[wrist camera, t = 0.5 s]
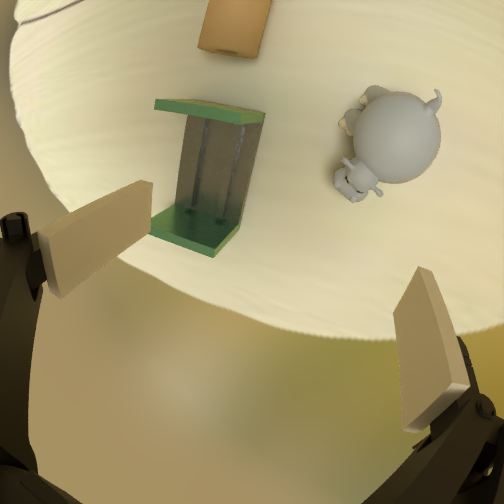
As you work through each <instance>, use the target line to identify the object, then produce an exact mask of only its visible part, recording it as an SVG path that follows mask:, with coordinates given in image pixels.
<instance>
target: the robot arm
mask: <svg viewBox="0 0 504 504" xmlns="http://www.w3.org/2000/svg"><path fill="white" fill-rule="evenodd" d="M152 188H153V183H151V182H147V181H143V180H139V181H137V182H135V183H133V184H130V185H128V186H126V187H123V188H121V189H119V190H117V191H115V192H112V193H110V194H108V195H106V196H104V197H102V198H100V199H98V200H95V201H93V202H91V203H89V204H87V205H85V206H83V207H81V208H79V209H77V210H75V211H73V212H71V213H70V214H68V215H66V216H64V217H62V218H60V219H58V220H56V221H54V222H53V223H51V224H49V225H47V226H45V227H44V228H42V229H40V230H38V231H37V232H36V233H33V234H32V235H31V233H30V227H29V221H28V215H27V214H26V213H24V212H14V213H10V214H8V215H6V216H4V217H3V218H1V219H0V227H1V232H2V237H3V238H0V504H82V503H80V502H79V501H78V500H76V499H75V498H73V497H72V496H71V495H69V494H68V493H67V492H65V491H63V490H62V489H60V488H58V487H57V486H55V485H53V484H52V483H50V482H49V481H47V480H45V479H44V478H42V477H41V476H39V475H38V468H37V462H36V458H35V454H34V452H33V449H32V447H31V445H30V442H29V437H28V401H29V381H30V369H31V360H32V351H33V344H34V337H35V330H36V324H37V319H38V313H39V308H40V303H41V299H42V294H43V287H42V283H43V282H45V281H46V280H47V282H48V286H49V290H50V292H51V293H52V294H54V295H55V296H57V297H59V298H60V299H62V298H64V297H65V296H66V295H67V294H68V293H70V292H71V291H72V290H74V289H75V288H76V287H77V286H79V285H80V284H81V283H82V282H83V281H85V280H86V279H87V278H89V277H90V276H91V275H93V274H94V273H95V272H96V271H98V270H99V269H100V268H102V267H103V266H104V265H106V264H107V263H108V262H110V261H111V260H112V259H114V258H115V257H116V256H118V255H119V254H120V253H122V252H123V251H124V250H126V249H127V248H128V247H130V246H131V245H133V244H134V243H135V242H137V241H138V240H139V239H141V238H142V237H144V236H145V235H147V234H148V233H149V232H150V231H151V206H152ZM393 316H394V323H395V331H396V339H397V348H398V358H399V370H400V383H401V384H400V385H401V406H402V431H408V432H416V433H420V432H421V431H422V430H424V429H425V428H426V427H427V426H428V425H430V430H431V434H429V435H428V436H426V437H425V438H424V439H423V440H421V441H420V442H419V443H417V444H416V445H415V446H413V447H412V448H413V449H415V448H416V449H415V450H414V451H413V452H412V454H411V455H410V456H409V457H408V458H407V459H406V460H405V462H404V463H403V464H402V465H401V466H400V467H399V468H398V469H397V470H396V471H395V472H394V473H393V474H392V475H391V476H390V477H389V478H388V479H387V480H386V481H385V482H384V483H383V484H382V485H381V486H380V487H379V488H378V489H377V490H376V491H375V492H374V493H373V494H372V495H370V496H369V497H368V498H367V499H366V500H365V501H364V502H363V503H362V504H504V420H503V419H502V418H499V417H498V416H496V410H495V407H494V405H493V403H492V401H491V400H490V399H489V398H488V397H487V396H485V395H484V394H480V393H479V389H478V385H477V381H476V377H475V374H474V370H473V367H471V366H472V364H471V360H470V359H469V353H468V351H467V347H466V345H465V344H464V342H463V341H462V339H461V338H460V337H458V336H456V334H455V331H454V328H453V325H452V322H451V319H450V316H449V313H448V311H447V308H446V305H445V303H444V300H443V297H442V295H441V292H440V290H439V287H438V285H437V283H436V280H435V278H434V275H433V273H432V271H430V270H427V269H424V268H422V267H419V266H418V268H417V270H416V272H415V274H414V276H413V277H412V279H411V281H410V283H409V285H408V287H407V289H406V291H405V292H404V294H403V296H402V298H401V300H400V301H399V303H398V305H397V307H396V308H395V310H394V312H393ZM492 467H493V469H492V472H491V473H490V475H488V476H487V474H488V470H489V469H490V468H492Z"/></svg>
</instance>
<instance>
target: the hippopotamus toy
mask: <svg viewBox="0 0 504 504" xmlns="http://www.w3.org/2000/svg"><path fill="white" fill-rule="evenodd" d="M434 90H435V92H436V94H437V98H435V99H432V100H430V101H429V102H427V103H425V102H424V101H422V100H421V99H420V98H418V97H417V96H415V95H413V94H410V93H406V92H390V91H388V90H386V89H384V88H382V87H380V86H370V87H369V88H368V89H367V90H366V92H365V94H364V95H363V96H362V97H361V99H360V100H359V102H360V104H362V105H365V106H366V108H365V109H364V111H361V110H358V109H351V110H349V111H347V112H346V113H345V116H344V118H343V119H341V120H340V121H339V126H340V127H341V128H345V131H346V133H347V134H348V135H349V136H353V146H354V151H355V155H356V156H355V157H354V158H352V159H351V160H350V161H349V160H348V159H347V158H346V157H342V158H341V162H342V163H343V164H344V165H346V167H342V168H339V169H337V170H336V171H335V173H334V177H333V185H334V187H335V188H336V189H337V190H338V191H339V192H340V193H341V194H342V195H344V196H345V197H346V198H347V199H348V200H350V201H351V202H352V203H355V202H359V201H362V200H363V199H365V198H366V196H367V194H368V190H370V189H372V190H373V191H374V192H375V193H376V194H377V196H379V197H382V196H383V192H382V191H381V190H380V189H378V188H377V187H376V186H375V185H376V184H377V182H378V181H381V182H384V183H390V184H399V183H405V182H408V181H411V180H413V179H415V178H417V177H418V176H420V175H421V174H422V173H423V172H424V171H426V170H427V168H428V167H429V166H430V165H431V164H432V162H433V161H434V159H435V157H436V155H437V153H438V151H439V147H440V142H441V130H440V125H439V122H438V119H437V117H436V115H435V113H436V112H437V111H438V109H439V108H440V106H441V103H442V96H441V93H440V92H439V91H438V90H437V89H434Z"/></svg>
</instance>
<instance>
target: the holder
mask: <svg viewBox="0 0 504 504" xmlns="http://www.w3.org/2000/svg"><path fill="white" fill-rule="evenodd" d="M154 110H162V111H169V112H175V113H182V114H188V116H187V122H186V128H185V134H184V140H183V147H182V153H181V160H180V167H179V175H178V183H177V191H176V199H175V204H174V205H172V206H170V207H169V208H167V209H165V210H164V211H162V212H160V213H159V214H157V215H155V216H154V217H152V218H151V231H150V232H149V233H148V234H150V235H152V236H155V237H158V238H160V239H163V240H166V241H168V242H171V243H174V244H176V245H179V246H182V247H184V248H187V249H190V250H193V251H195V252H198V253H201V254H203V255H206V256H209V257H212V258H214V257H215V256H216V255H217V254H218V253H219V251H220V250H221V249H222V248H223V247H224V246H225V245H226V244H227V242H228V241H229V240H230V239H231V238H232V237H233V236H234V235H235V233H236V232H237V231H238V230H239V228H240V223H241V219H242V214H243V210H244V205H245V201H246V196H247V192H248V187H249V183H250V178H251V174H252V170H253V165H254V161H255V156H256V152H257V148H258V143H259V139H260V135H261V131H262V126H263V122H264V118H265V114H266V113H262V112H258V111H253V110H249V109H244V108H239V107H234V106H229V105H224V104H218V103H212V102H206V101H200V100H191V99H156V100H155V107H154Z"/></svg>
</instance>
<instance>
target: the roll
mask: <svg viewBox="0 0 504 504" xmlns="http://www.w3.org/2000/svg"><path fill="white" fill-rule="evenodd" d="M270 4H271V0H210V1H209V4H208V8H207V12H206V15H205V19H204V23H203V27H202V30H201V34H200V38H199V43H198V47H197V48H199V49H201V50H205V51H209V52H213V53H218V54H224V55H230V56H238V57H246V58H256V57H257V55H258V51H259V47H260V43H261V39H262V35H263V31H264V27H265V23H266V19H267V15H268V12H269V8H270Z"/></svg>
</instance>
